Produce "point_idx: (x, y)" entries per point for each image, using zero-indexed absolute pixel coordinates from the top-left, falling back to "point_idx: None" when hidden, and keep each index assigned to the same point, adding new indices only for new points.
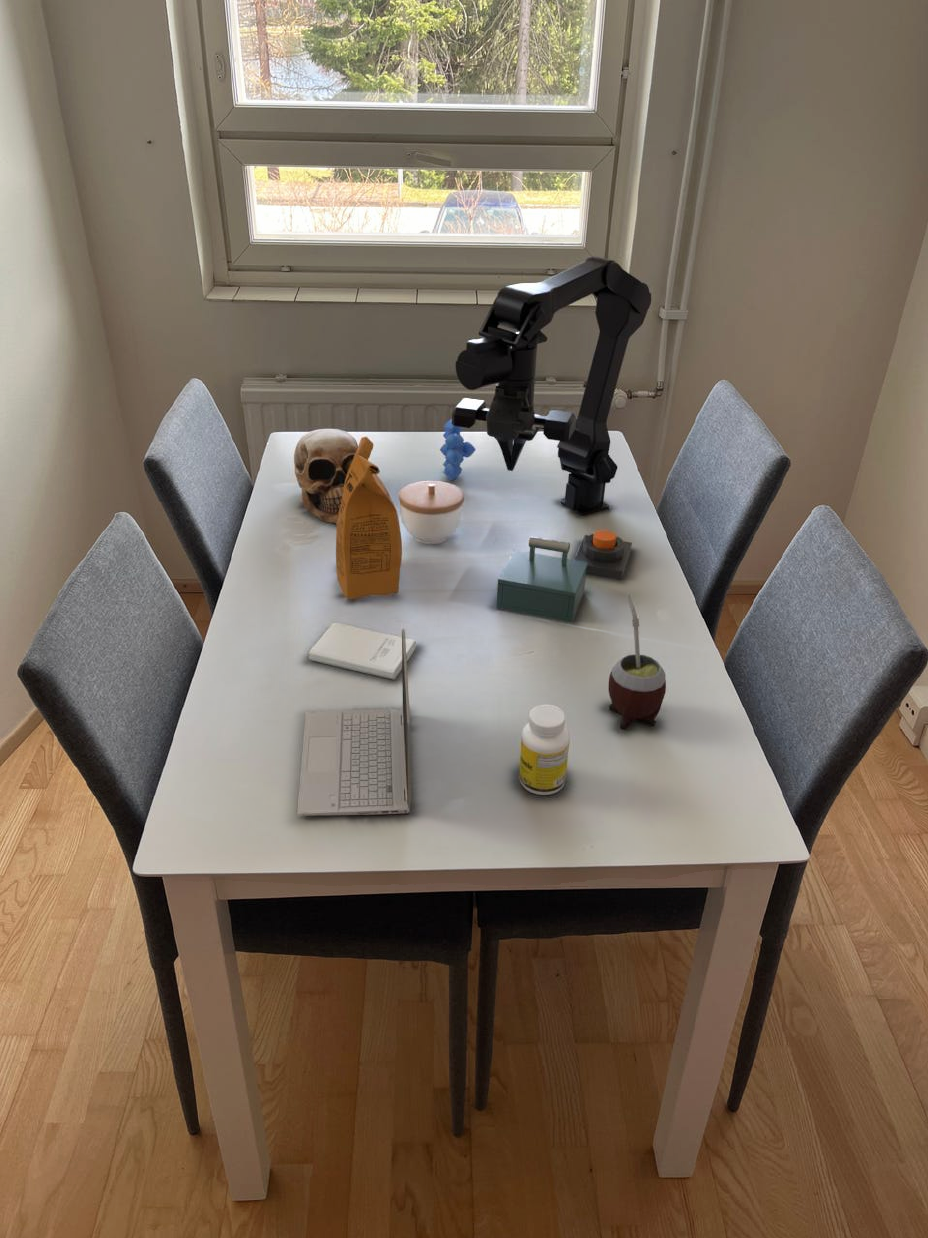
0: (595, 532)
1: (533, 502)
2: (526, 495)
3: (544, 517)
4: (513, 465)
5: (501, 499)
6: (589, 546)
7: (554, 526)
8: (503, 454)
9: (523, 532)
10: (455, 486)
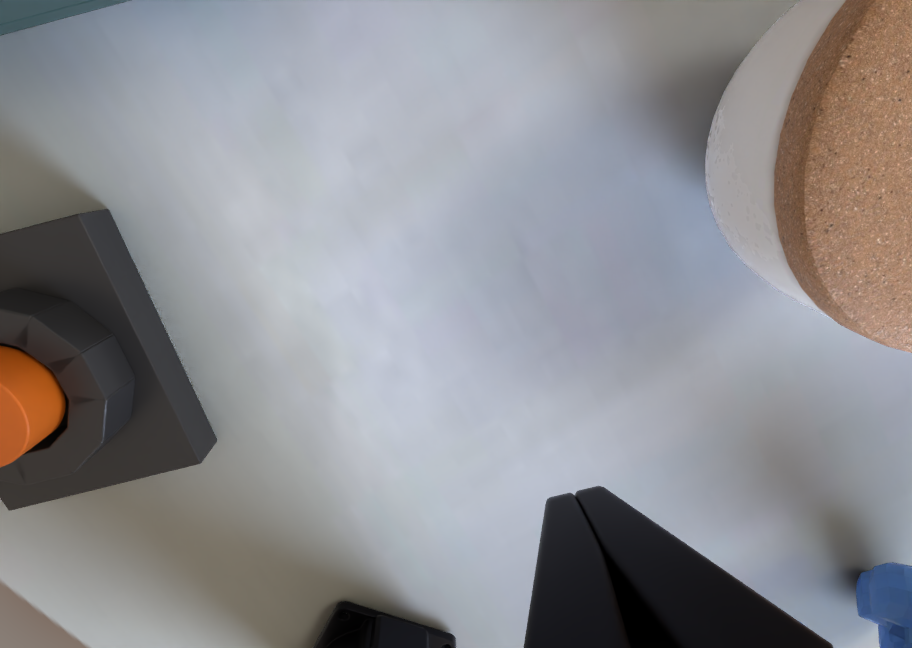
0: (21, 419)
1: None
2: None
3: (450, 525)
4: (549, 541)
5: None
6: (23, 326)
7: (384, 491)
8: (777, 619)
9: (460, 390)
10: (898, 334)
